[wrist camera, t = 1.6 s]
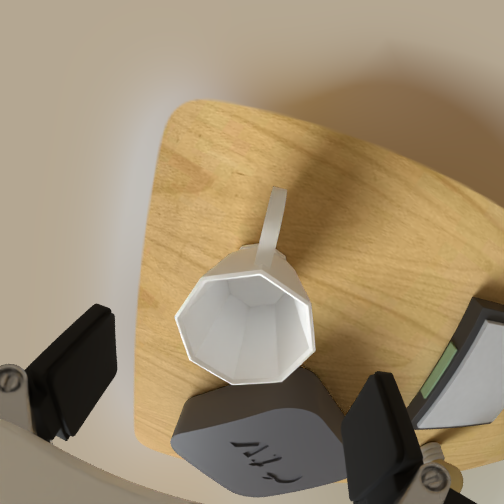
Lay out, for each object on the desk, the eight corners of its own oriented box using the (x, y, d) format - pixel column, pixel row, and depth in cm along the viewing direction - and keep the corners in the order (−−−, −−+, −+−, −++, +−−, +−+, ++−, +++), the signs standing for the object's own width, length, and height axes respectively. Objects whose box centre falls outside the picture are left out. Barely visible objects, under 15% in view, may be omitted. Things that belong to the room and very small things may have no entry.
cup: (204, 301, 23) (169, 368, 15) (228, 169, 19) (192, 182, 12) (293, 322, 22) (294, 398, 15) (332, 194, 19) (362, 223, 11)
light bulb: (413, 438, 27) (431, 503, 17) (454, 428, 26) (477, 486, 17) (397, 463, 29) (410, 522, 19) (436, 455, 28) (453, 508, 19)
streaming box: (359, 435, 27) (365, 472, 22) (248, 466, 30) (244, 499, 26) (303, 353, 23) (305, 398, 19) (173, 400, 27) (157, 437, 22)
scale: (470, 296, 20) (485, 310, 18) (547, 316, 20) (559, 327, 17) (398, 416, 25) (403, 434, 23) (485, 413, 25) (492, 426, 22)
